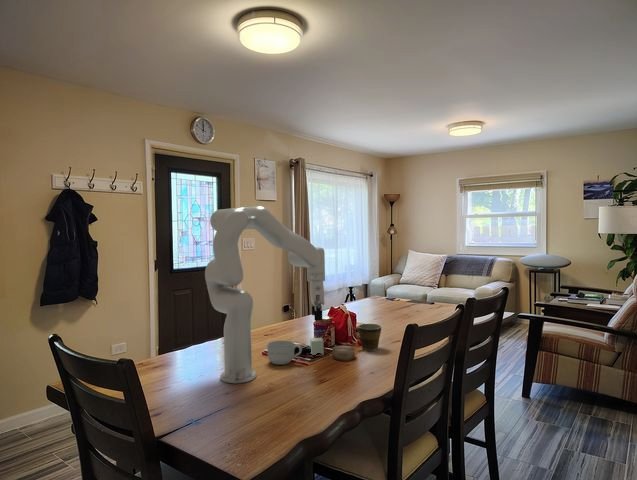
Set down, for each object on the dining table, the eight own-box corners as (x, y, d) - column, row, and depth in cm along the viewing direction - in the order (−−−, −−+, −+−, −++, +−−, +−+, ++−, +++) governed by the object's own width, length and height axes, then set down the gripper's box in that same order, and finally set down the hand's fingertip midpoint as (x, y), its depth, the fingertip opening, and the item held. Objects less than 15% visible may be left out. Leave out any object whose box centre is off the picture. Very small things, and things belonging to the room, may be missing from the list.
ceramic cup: (381, 346, 186) (380, 323, 186) (382, 353, 176) (382, 329, 176) (351, 345, 187) (351, 323, 187) (351, 352, 178) (350, 329, 177)
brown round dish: (356, 360, 167) (356, 351, 167) (334, 361, 166) (334, 352, 166) (352, 353, 176) (352, 344, 176) (330, 354, 175) (330, 345, 175)
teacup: (261, 364, 164) (261, 344, 163) (277, 356, 173) (277, 337, 173) (292, 370, 157) (292, 348, 157) (306, 361, 167) (306, 341, 167)
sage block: (323, 355, 175) (323, 340, 175) (311, 355, 174) (311, 341, 174) (322, 351, 180) (321, 337, 179) (310, 352, 179) (310, 338, 179)
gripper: (328, 279, 168) (329, 322, 168) (322, 274, 185) (323, 312, 186) (309, 280, 167) (310, 323, 168) (305, 274, 184) (306, 313, 185)
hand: (317, 317), depth 177 cm, fingers open, 9 cm apart
